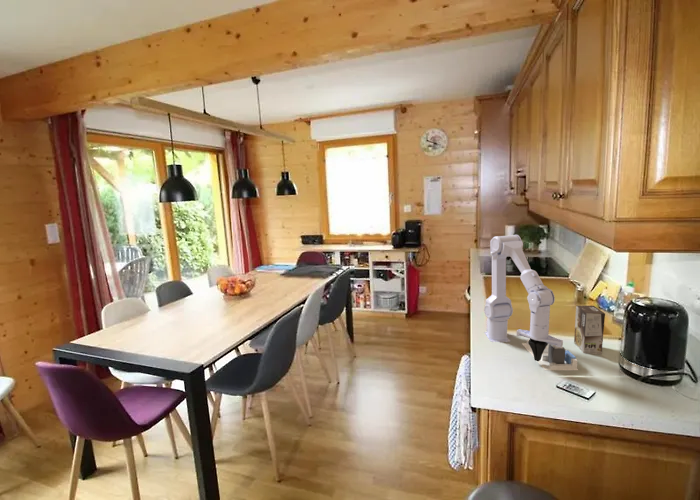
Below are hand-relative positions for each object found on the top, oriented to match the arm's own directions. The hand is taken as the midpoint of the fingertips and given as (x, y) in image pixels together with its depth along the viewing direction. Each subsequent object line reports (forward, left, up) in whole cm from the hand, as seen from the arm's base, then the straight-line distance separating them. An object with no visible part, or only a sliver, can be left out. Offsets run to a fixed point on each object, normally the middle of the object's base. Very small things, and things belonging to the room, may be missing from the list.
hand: (537, 359), depth 126 cm
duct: (-6, +6, -2) cm, 9 cm away
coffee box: (-12, +23, -2) cm, 26 cm away
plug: (0, +6, -2) cm, 6 cm away
